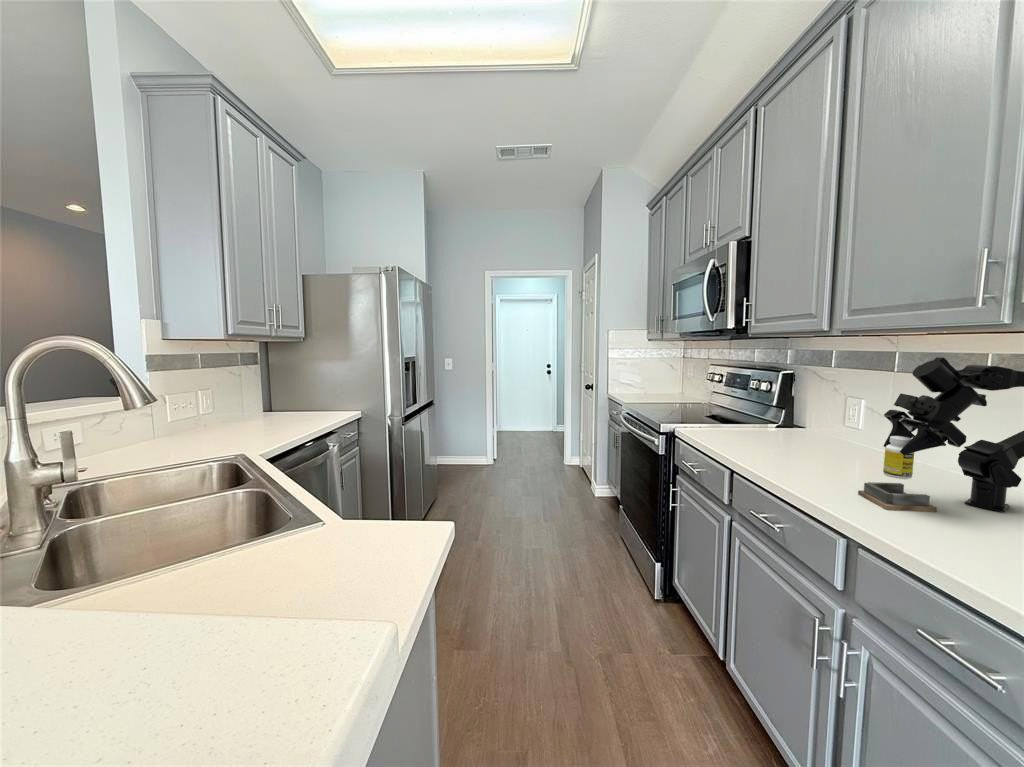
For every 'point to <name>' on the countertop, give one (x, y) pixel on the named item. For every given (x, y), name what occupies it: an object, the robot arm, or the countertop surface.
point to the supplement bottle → (898, 459)
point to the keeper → (895, 497)
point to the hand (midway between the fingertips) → (893, 450)
